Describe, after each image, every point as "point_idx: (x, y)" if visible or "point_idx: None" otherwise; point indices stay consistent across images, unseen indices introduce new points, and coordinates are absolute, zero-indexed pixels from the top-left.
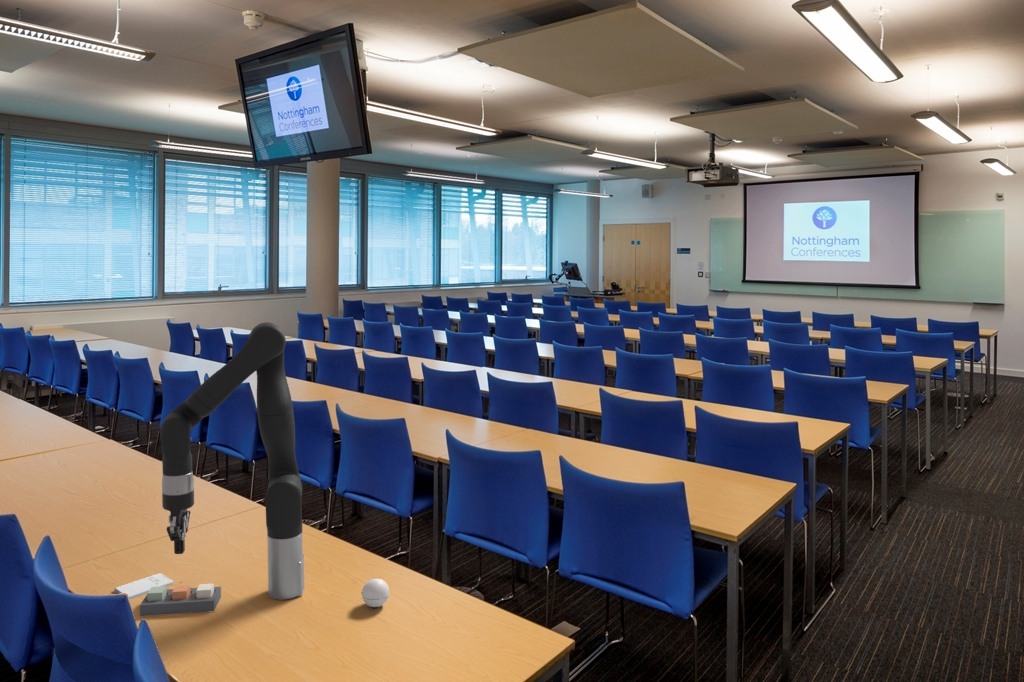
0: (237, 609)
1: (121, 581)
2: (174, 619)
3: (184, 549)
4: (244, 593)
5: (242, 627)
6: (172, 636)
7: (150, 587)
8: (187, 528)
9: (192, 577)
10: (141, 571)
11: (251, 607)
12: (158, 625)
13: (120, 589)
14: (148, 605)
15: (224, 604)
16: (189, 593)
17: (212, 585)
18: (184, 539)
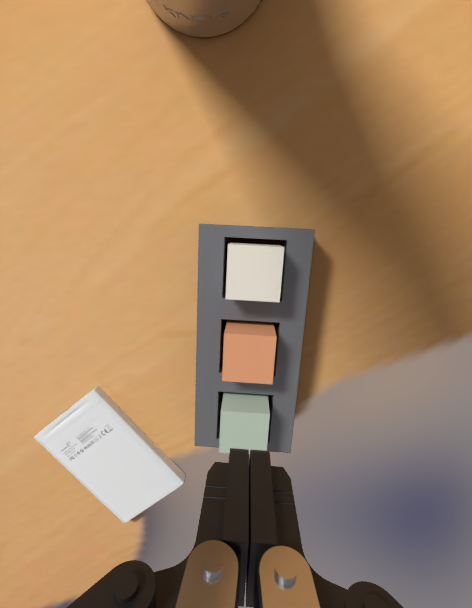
0: (309, 149)
1: (72, 512)
2: (328, 339)
3: (239, 456)
4: (189, 142)
5: (450, 107)
6: (433, 324)
7: (131, 442)
8: (90, 605)
9: (53, 341)
10: (11, 481)
11: (305, 96)
12: (353, 374)
13: (137, 509)
14: (291, 429)
15: (261, 203)
16: (240, 325)
17: (245, 247)
18: (227, 528)
